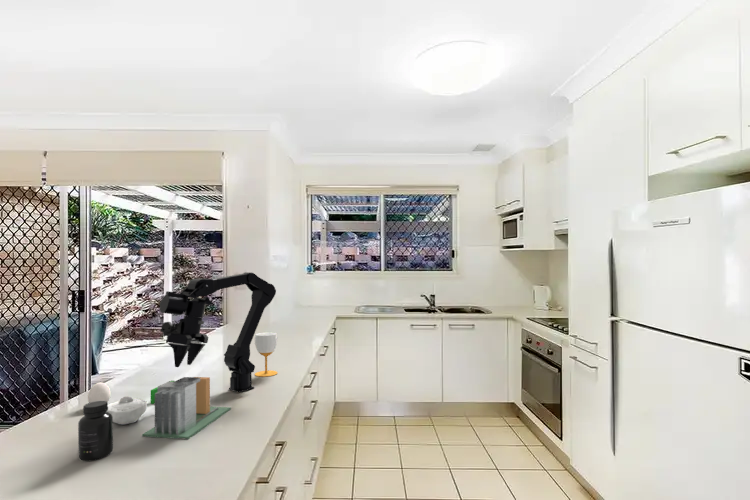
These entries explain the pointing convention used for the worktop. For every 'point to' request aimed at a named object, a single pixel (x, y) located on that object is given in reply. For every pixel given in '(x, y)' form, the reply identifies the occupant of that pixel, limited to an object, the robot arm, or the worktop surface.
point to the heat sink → (177, 406)
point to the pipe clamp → (153, 395)
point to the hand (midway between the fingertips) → (183, 365)
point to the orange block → (203, 395)
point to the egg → (99, 393)
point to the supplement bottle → (95, 432)
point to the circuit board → (193, 430)
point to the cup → (266, 349)
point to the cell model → (127, 410)
